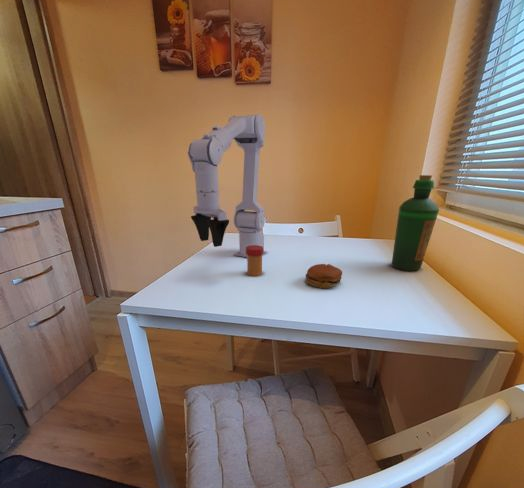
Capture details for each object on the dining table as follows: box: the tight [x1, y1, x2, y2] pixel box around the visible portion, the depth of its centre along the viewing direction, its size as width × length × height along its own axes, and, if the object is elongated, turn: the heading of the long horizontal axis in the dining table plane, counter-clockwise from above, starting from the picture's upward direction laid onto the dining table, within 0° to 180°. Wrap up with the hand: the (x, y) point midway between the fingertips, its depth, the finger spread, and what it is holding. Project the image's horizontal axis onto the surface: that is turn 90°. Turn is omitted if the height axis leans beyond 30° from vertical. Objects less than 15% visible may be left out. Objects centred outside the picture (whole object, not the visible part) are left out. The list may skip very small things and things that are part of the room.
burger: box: [305, 263, 343, 289], centre depth 77 cm, size 10×9×5 cm
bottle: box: [391, 174, 440, 272], centre depth 85 cm, size 11×11×28 cm
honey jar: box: [246, 255, 263, 277], centre depth 82 cm, size 4×4×8 cm
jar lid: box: [246, 245, 264, 256], centre depth 81 cm, size 5×5×2 cm
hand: (210, 243), depth 77 cm, fingers open, 7 cm apart
